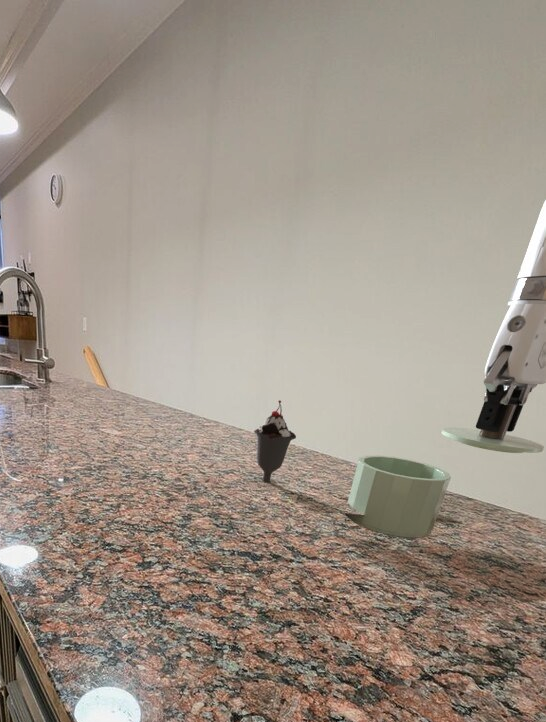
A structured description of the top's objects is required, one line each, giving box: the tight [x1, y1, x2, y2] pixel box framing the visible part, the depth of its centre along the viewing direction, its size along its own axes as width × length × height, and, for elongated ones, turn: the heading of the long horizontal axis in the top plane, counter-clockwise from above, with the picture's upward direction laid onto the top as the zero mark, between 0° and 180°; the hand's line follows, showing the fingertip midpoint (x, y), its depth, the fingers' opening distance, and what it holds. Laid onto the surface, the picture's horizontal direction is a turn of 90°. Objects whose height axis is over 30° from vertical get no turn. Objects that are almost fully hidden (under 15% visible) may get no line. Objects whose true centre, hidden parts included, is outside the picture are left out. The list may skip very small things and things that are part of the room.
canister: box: [345, 455, 452, 539], centre depth 66 cm, size 12×12×8 cm
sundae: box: [253, 399, 297, 483], centre depth 73 cm, size 7×7×15 cm
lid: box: [441, 403, 545, 454], centre depth 67 cm, size 13×13×6 cm
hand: (494, 428), depth 67 cm, fingers closed on lid, 3 cm apart
